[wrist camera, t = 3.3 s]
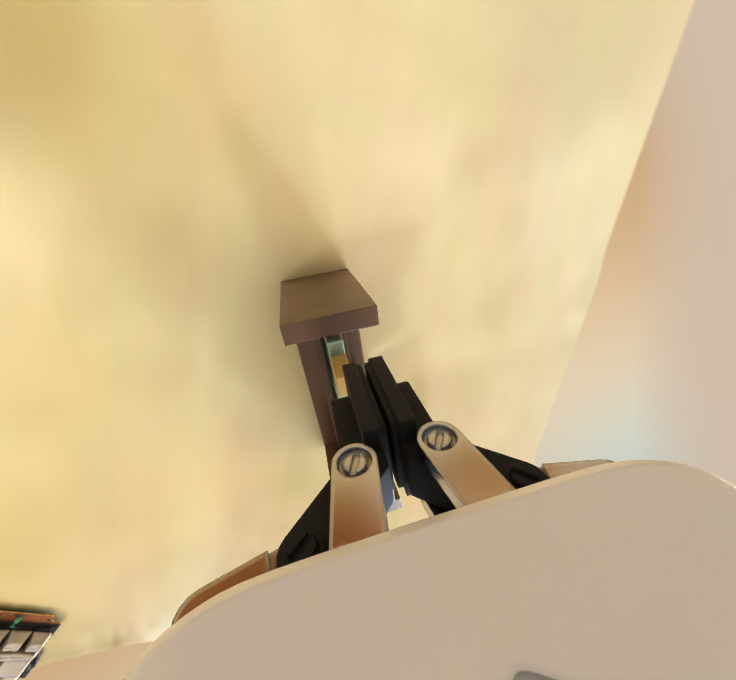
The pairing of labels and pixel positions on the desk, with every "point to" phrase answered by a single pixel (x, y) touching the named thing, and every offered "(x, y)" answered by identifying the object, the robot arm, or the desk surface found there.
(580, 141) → the desk surface
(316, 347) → the window frame
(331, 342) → the sliding pane
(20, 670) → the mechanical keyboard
